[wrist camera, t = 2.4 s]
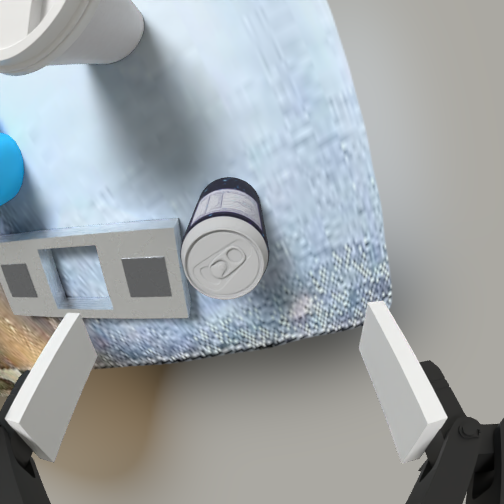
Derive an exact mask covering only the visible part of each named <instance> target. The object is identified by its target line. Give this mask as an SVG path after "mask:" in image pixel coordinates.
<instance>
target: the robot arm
mask: <svg viewBox="0 0 504 504" xmlns="http://www.w3.org/2000/svg"><path fill="white" fill-rule="evenodd" d="M359 350H360V353H361V355H362V358H363V360H364V363H365V365H366V368H367V370H368V373H369V375H370V378H371V381H372V383H373V385H374V389H375V391H376V394H377V396H378V399H379V402H380V405H381V407H382V410H383V413H384V415H385V418H386V421H387V424H388V426H389V429H390V432H391V435H392V438H393V441H394V443H395V446H396V449H397V452H398V455H399V458H400V461H401V464H402V463H406V462H409V461H413V460H416V459H419V458H420V457H421V456H422V454H423V453H424V452H426V455H427V457H428V459H427V460H426V461H425V463H424V464H423V465H422V466H421V468H420V469H419V471H421V473H420V475H419V478H418V480H417V482H416V484H415V486H414V488H413V490H412V492H411V494H410V496H409V498H408V500H407V502H406V504H462V503H463V500H464V498H465V495H466V492H467V496H466V504H504V418H503V420H502V421H501V422H500V424H488V425H487V424H486V425H483V424H480V423H479V422H478V421H477V420H475V419H473V418H471V417H467V416H466V415H465V413H464V412H463V410H462V408H461V406H460V404H459V402H458V401H457V399H456V397H455V395H454V393H453V391H452V390H451V388H450V387H449V384H448V383H447V381H446V380H445V378H444V376H443V374H442V372H441V370H440V369H439V368H438V367H437V366H436V365H435V364H434V363H433V362H431V361H430V360H429V361H424V362H418V360H417V358H416V356H415V354H414V353H413V351H412V349H411V347H410V345H409V344H408V342H407V340H406V338H405V337H404V335H403V333H402V331H401V330H400V328H399V326H398V325H397V323H396V322H395V320H394V318H393V316H392V315H391V313H390V311H389V310H388V308H387V306H386V305H385V303H384V301H378V302H368V304H367V309H366V315H365V320H364V325H363V330H362V336H361V340H360V345H359ZM96 358H97V354H96V351H95V349H94V347H93V344H92V342H91V340H90V337H89V335H88V332H87V330H86V327H85V325H84V322H83V320H82V317H81V314H80V313H67V314H66V315H65V317H64V318H63V320H62V321H61V323H60V324H59V326H58V327H57V329H56V331H55V332H54V334H53V335H52V337H51V338H50V340H49V341H48V343H47V345H46V346H45V348H44V350H43V351H42V353H41V354H40V356H39V358H38V359H37V361H36V363H35V364H34V366H33V368H32V369H31V371H29V370H27V371H25V372H24V373H23V374H22V375H21V376H20V377H19V379H18V380H17V382H16V384H15V385H14V388H13V389H12V391H11V392H10V395H9V396H8V398H7V400H6V402H5V403H4V405H3V407H2V409H1V411H0V504H51V503H50V501H49V498H48V496H47V494H46V491H45V489H44V486H43V484H42V481H41V479H40V476H39V473H38V470H37V468H36V465H35V462H34V460H33V458H32V457H31V455H32V452H34V453H35V454H36V455H37V456H38V457H39V458H40V459H43V460H47V461H50V462H53V463H54V462H55V459H56V456H57V453H58V450H59V448H60V445H61V442H62V440H63V437H64V434H65V432H66V429H67V426H68V424H69V421H70V419H71V416H72V414H73V411H74V409H75V406H76V404H77V401H78V399H79V397H80V394H81V392H82V390H83V387H84V385H85V383H86V380H87V378H88V376H89V373H90V371H91V369H92V367H93V365H94V362H95V360H96Z"/></svg>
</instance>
